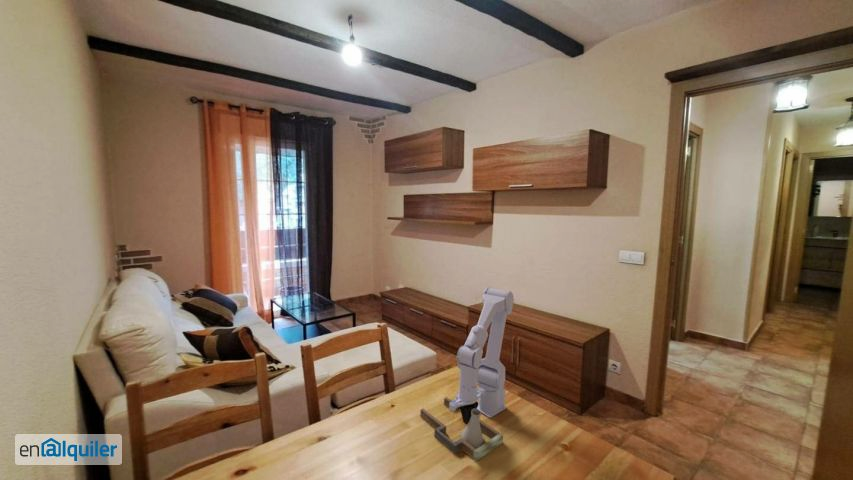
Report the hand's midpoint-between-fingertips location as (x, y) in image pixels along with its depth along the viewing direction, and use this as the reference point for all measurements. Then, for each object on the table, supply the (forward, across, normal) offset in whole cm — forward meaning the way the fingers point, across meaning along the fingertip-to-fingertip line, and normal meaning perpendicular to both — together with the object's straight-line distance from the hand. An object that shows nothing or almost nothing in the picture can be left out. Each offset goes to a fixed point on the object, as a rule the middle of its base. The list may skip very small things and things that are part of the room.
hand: (466, 422), depth 111 cm
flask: (+4, +1, +3) cm, 5 cm away
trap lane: (+4, 0, -3) cm, 5 cm away
